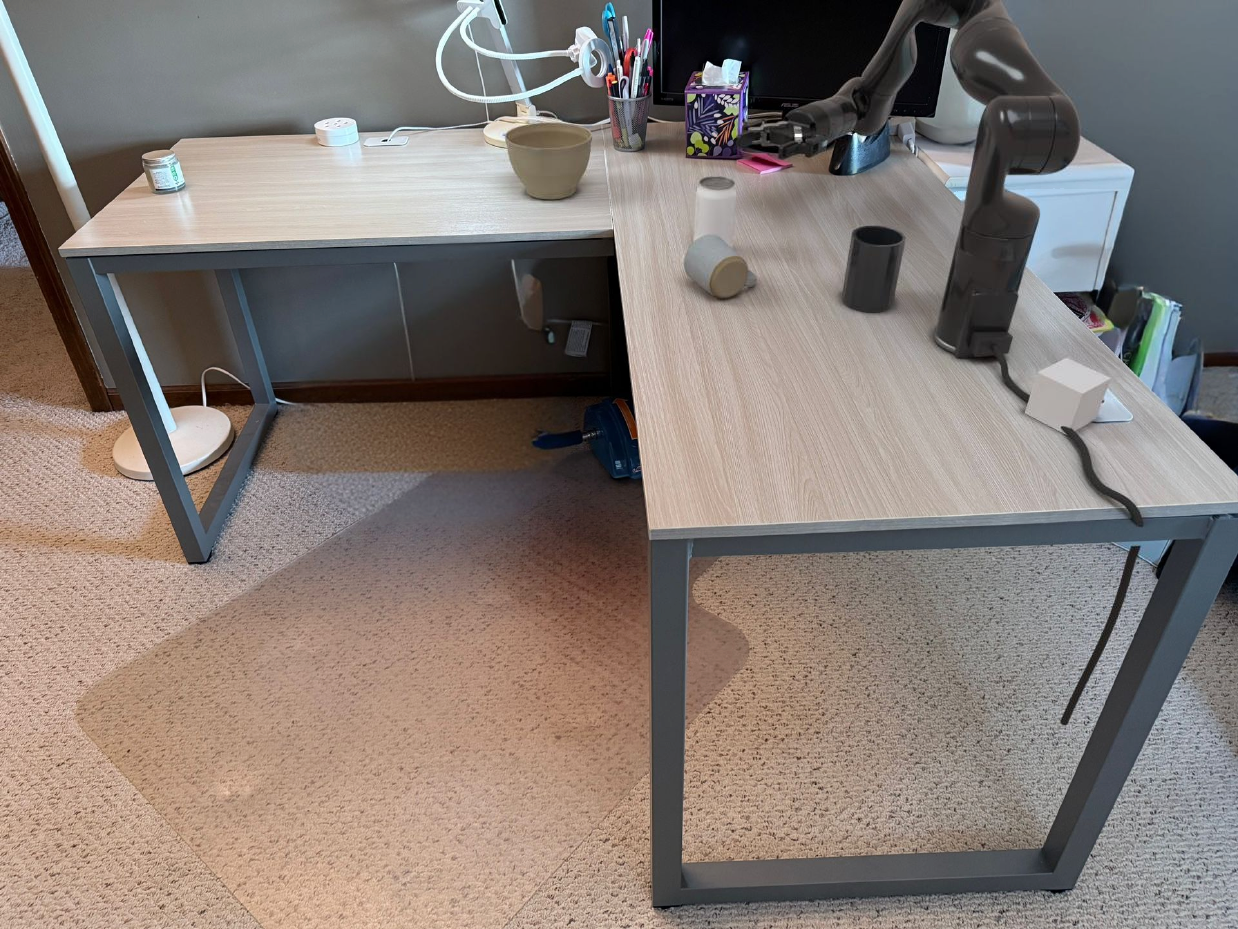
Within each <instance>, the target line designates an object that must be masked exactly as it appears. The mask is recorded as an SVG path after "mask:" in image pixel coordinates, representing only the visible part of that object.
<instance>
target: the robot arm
mask: <svg viewBox="0 0 1238 929" xmlns="http://www.w3.org/2000/svg"><path fill="white" fill-rule="evenodd" d="M920 22H924V23H925V24H931V25H935V26H940V27H945V28H948V29H949V28H950V29H953V30H956V33H955V35H954V36H953V38H952V41H951V44H950V48H949V61H950V65H951V68H952V70H953V72H954V75H955V77H956V79H957V80H958V83H959V85H960V87H961V88H962V90H963V91H964V92H965V93H966V94H967V95H968V96H969V97H970V98H972V100H975V101H976V102H977V103H980V104H981V105H983V106H985V108H984V110H983V112H982V114H981V116H980V121H979V123H978V126H977V133H976V137H975V142H974V148H973V155H972V161H971V167H970V171H969V176H968V181H967V185H966V192H965V198H964V205H963V212H962V216H961V220H960V225H959V228H958V233H957V238H956V242H955V246H954V250H953V254H952V258H951V263H950V267H949V270H948V276H947V281H946V284H945V287H944V293H943V297H942V301H941V305H940V309H939V314H938V319H937V323H936V326H935V328H934V332H933V340H934V341H935V343H936V344H937V345H938V346H939V347H941V348H942V349H944V350H945V351H947V352H950V353H952V354H954V355H955V356H956V358H958V359H959V358H962V359H963V358H996V359H997V362H998V363H999V367H1000V372H1001V377H1002V380H1003V382H1004V384H1005V385H1006V386H1007V387H1008V389H1009V390H1010V391H1011V392H1013V393H1014V394H1015V395H1016V396H1017V397H1019V398H1020V399H1021V400H1023V401H1024V402H1026V403H1028V401H1029V398H1030V395H1031V394H1028V392H1025V391H1024V390H1023V389H1021V388H1020V386H1018V385H1017V383H1015V381H1014V380H1013V378H1012V377H1011V376H1010V372H1009V365H1008V362H1007V360H1006V357H1005V355H1007V354H1009V353H1010V349H1011V346H1012V342H1013V339H1014V336H1013V335H1012V334H1011V333H1010V332H1009V331H1010V327H1011V325H1012V320H1013V317H1014V314H1015V311H1016V307H1017V303H1018V299H1019V291H1020V287H1021V284H1022V280H1023V276H1024V272H1025V269H1026V266H1027V262H1028V259H1029V256H1030V252H1031V249H1032V245H1033V242H1034V239H1035V235H1036V232H1037V229H1038V227H1039V226H1038V225H1039V222H1040V219H1041V209H1040V208H1039V206H1038V204H1036V203H1035V202H1034V201H1033V200H1031V199H1029V198H1027V197H1025V196H1023V195H1021V194H1019V193H1016V192H1013V191H1010V190H1009V189H1008V188H1006V187H1005V183H1006V177H1007V176H1047V175H1052V174H1057V173H1059V172H1062V171H1063V170H1065V169H1066V168H1067V167H1068V166H1069V165H1070V164H1071V163H1072V162H1073V161H1074V159H1075V158H1076V156H1077V154H1078V152H1079V148H1080V145H1081V144H1080V143H1081V134H1082V133H1081V130H1082V129H1081V121H1080V118H1079V113H1078V111H1077V109H1076V106H1075V104H1074V102H1073V101H1072V99H1071V98H1070V97H1069V96H1068V95H1067V94H1066V93H1065V92H1064V90H1063V89H1061V87H1060V86H1059V85H1058V84H1057V83H1056V82H1055V81H1054V80H1053V79H1052V78H1051V77H1050V76H1049V75H1048V74H1047V73H1046V71H1045V70H1044V69H1043V67H1042V66H1041V64H1040V63H1039V61H1038V60H1037V58H1036V57H1035V55H1034V54H1033V53H1032V51H1031V49H1030V48H1029V46H1028V44H1027V42H1026V40H1025V38H1024V36H1023V35H1022V34H1021V32H1020V30H1019V28H1018V27H1017V26H1016V24H1015V23H1014V22H1013V20H1012V18H1011V17H1010V15H1009V13H1008V12H1007V9H1006V7H1005V6H1004V4H1003V2H1002V0H902V2H901V4H900V5H899V8H898V10H897V12H896V14H895V17H894V18H893V21H892V23H891V25H890V28H889V30H888V32H887V34H886V36H885V39H884V40H883V41H882V44H881V46H880V47H879V49H878V51H877V52H876V53H875V54H874V55H873V57H872V59H871V60H870V62H869V63H868V65H867V66H866V67H865V69H864V71H863V72H862V74H861V77H860V76H856V77H852V78H851V79H849V80H848V81H846V82H845V83H844V84H843V85H842V86H841V87H840V88H839V90H838V91H837V92H836V93H835V94H834V95H833V96H831V97H828V98H826V99H823V100H816V101H814V102H810V103H808V104H805V105H803V106H800V107H797V108H794V109H791V110H790V111H789V112H788V113H787V114H786V115H785V116H784V117H783V119H782V120H781V121H780V120H779V121H777V122H775V123H774V122H771V123H767V121H768V120H767V119H765V118H760V119H757V120H754V121H751V122H747V123H745V124H742V125H741V133H739V134H737V135H736V136H735V137H736V138H735V147H736V149H740V150H742V149H744V148H747V147H749V146H751V145H759V144H760V145H761V146H762V147H771V146H772V147H774V146H776V147H777V148H778V154H777V159H778V160H780V161H784V160H787V159H788V158H791V157H800V156H802V155H804V157H805V158H807V159H810V158H813V157H815V156H817V155H819V154H822V153H823V152H825V151H827V146H828V144H830V143H831V142H833V141H834V140H837V139H839V138H841V137H843V136H846V135H848V134H850V133H851V132H852V131H853V132H854V133H856V134H857V135H858V136H860V137H870V136H873V135H875V134H877V133H878V132H879V131H880V130H881V129H882V128H883V127H884V125H886V123H887V121H888V119H889V118H890V115H891V113H892V110H893V108H894V103H895V100H896V98H897V94H898V92H899V91H900V90H901V89H902V87H903V86H904V85H905V83H906V82H907V81H908V80H909V79H910V76H912V73H913V72H914V69H915V67H916V65H917V59H918V48H917V41H916V34H915V33H916V32H915V31H916V30H915V28H916V26H918V24H919V23H920ZM768 133H769V140H767V135H768ZM1060 428H1061V429H1062V430H1063V431H1064V432H1065V433H1066V434H1067V435H1066V434H1065V435H1066V436H1067V437H1068V438H1070V439H1071V441H1072V442H1073V443H1074V444H1075V446H1076V448H1077V449H1078V451H1079V452H1080V455H1081V459H1082V465H1083V469H1084V472H1085V475H1086V477H1087V479H1088V480H1089V482H1090V483H1091V485H1092V486H1093V487H1094V489H1096V490H1097V491H1098V492H1100V493H1101V494H1102V495H1104V496H1106V497H1108V498H1110V499H1113V500H1114V501H1116V502H1118V503H1120V504H1121V505H1122V506H1123V507H1125V509H1126V510H1127V511H1128V512H1129V514H1130V516H1131V519H1132V522H1133V524H1134V525H1135V526H1136V527H1138V528H1143V527H1144V520H1143V516H1142V514H1141V511H1140V510H1139V508H1138V506H1137V505H1136V504H1135V503H1134V502H1133V500H1131V499H1130V498H1129V497H1127V496H1125V495H1124V494H1123V493H1121V492H1118V491H1117V490H1114V489H1113V488H1110V487H1109V486H1108V485H1105V483H1103V482H1102V481H1101V480H1100V479H1099V477H1098V476H1097V474H1096V473H1095V470H1094V468H1093V462H1092V457H1091V454H1090V451H1089V449H1088V447H1087V445H1086V443H1085V442H1084V440H1083V439H1082V437H1081V436H1080V435H1079V433H1077V431H1074V430H1073V429H1072V428H1068V427H1066V426H1061V427H1060ZM1141 547H1142V545H1130V548H1129V551H1128V554H1127V556H1126V559H1125V564H1124V566H1123V570H1122V574H1121V577H1120V581H1119V585H1118V588H1117V591H1116V594H1115V597H1114V601H1113V604H1112V606H1111V609H1110V611H1109V614H1108V617H1107V620H1106V622H1105V625H1104V627H1103V629H1102V632H1101V634H1100V636H1099V639H1098V641H1097V643H1096V645H1095V647H1094V649H1093V652H1092V654H1091V656H1090V657H1089V660H1088V662H1087V664H1086V666H1085V667H1084V669H1083V672H1082V674H1081V676H1080V678H1079V680H1078V681H1077V684H1076V686H1075V688H1074V690H1073V692H1072V694H1071V696H1070V698H1069V700H1068V703H1067V705H1066V707H1065V709H1064V711H1063V713H1062V716H1061V719H1060V720H1059V723H1060V724H1061V725H1062V726H1065V727H1067V726H1068V725H1069V723H1070V720H1071V718H1072V715H1073V713H1074V711H1075V709H1076V706H1077V704H1078V702H1079V700H1080V698H1081V696H1082V694H1083V692H1084V690H1085V689H1086V686H1087V684H1088V682H1089V680H1090V678H1091V676H1092V674H1093V673H1094V670H1095V668H1096V667H1097V665H1098V662H1099V661H1100V659H1101V657H1102V655H1103V653H1104V650H1105V648H1106V647H1107V644H1108V642H1109V639H1110V637H1111V636H1112V633H1113V631H1114V628H1115V626H1116V623H1117V621H1118V618H1119V616H1120V613H1121V610H1122V608H1123V604H1124V602H1125V600H1126V596H1127V593H1128V589H1129V587H1130V583H1131V579H1132V577H1133V572H1134V568H1135V565H1136V561H1137V558H1138V556H1139V554H1140V550H1141Z"/></svg>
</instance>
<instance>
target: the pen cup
mask: <svg viewBox="0 0 1238 929" xmlns="http://www.w3.org/2000/svg"><path fill="white" fill-rule="evenodd" d="M850 236H851V237H850V242H849V248H848V255H847V261H846V266H845V267H846V268H845V273H844V280H843V285H842V291H841V301H842V303H843V304H844V305H845V306H846V307H848V308H849V309H852V310H854V311H858V312H862V313H869V314H874V313H883V312H885V311H888V310H890V309H891V308H892V307H893V305H894V300H895V296H896V292H897V285H898V281H899V275H900V270H901V265H902V262H903V261H902V260H903V257H904V256H903V255H904V252H905V245H906V242H907V241H906V240H907V237H906V235H905V234H904V232H902V231H900V230H898V229H896V228H893V227H889V226H883V225H864V226H859V227H857V228H855V229H853V230H852V233H851V235H850Z"/></svg>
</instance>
